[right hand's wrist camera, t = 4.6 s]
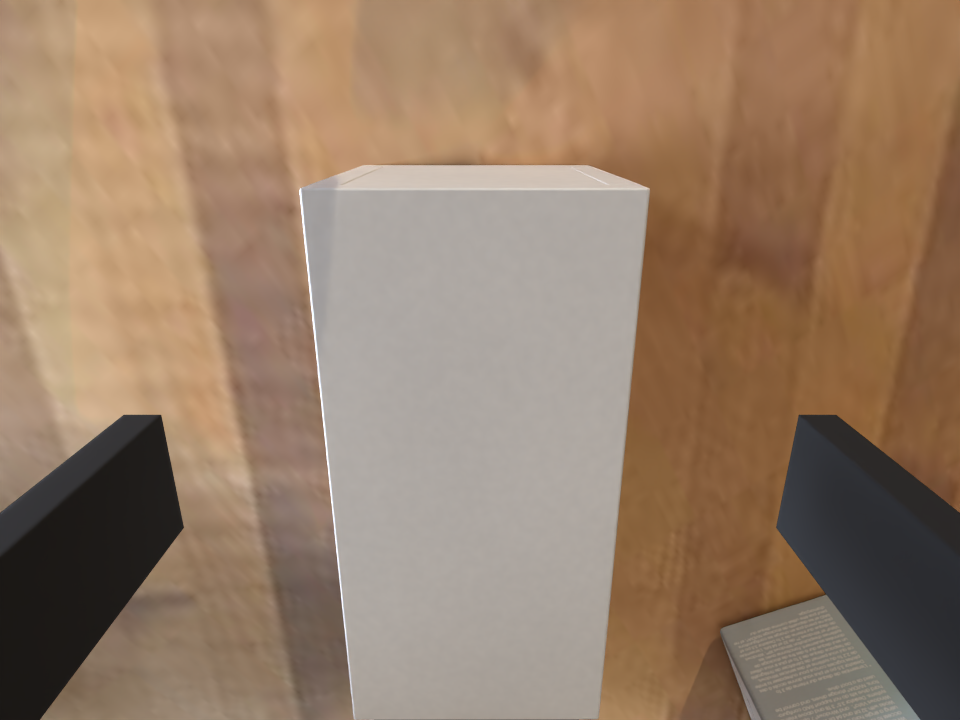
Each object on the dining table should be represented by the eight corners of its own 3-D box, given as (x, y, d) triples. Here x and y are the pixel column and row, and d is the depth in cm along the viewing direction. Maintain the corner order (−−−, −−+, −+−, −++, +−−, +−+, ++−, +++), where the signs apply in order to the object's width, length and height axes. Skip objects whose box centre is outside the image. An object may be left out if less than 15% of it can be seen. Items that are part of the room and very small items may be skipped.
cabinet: (565, 554, 36) (598, 720, 26) (388, 554, 36) (353, 720, 26) (589, 165, 28) (650, 187, 18) (362, 165, 28) (298, 187, 18)
